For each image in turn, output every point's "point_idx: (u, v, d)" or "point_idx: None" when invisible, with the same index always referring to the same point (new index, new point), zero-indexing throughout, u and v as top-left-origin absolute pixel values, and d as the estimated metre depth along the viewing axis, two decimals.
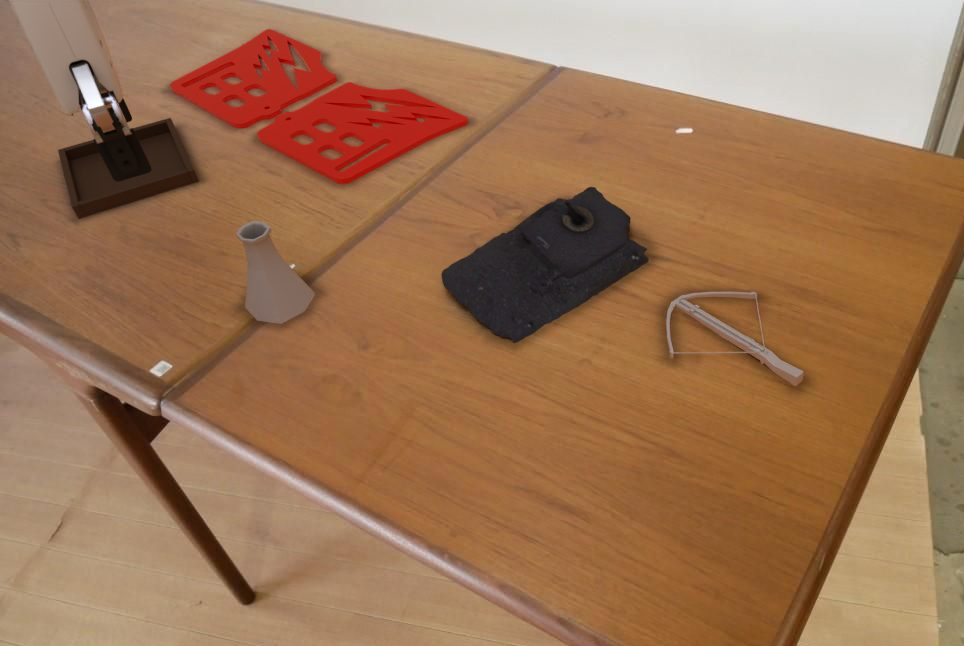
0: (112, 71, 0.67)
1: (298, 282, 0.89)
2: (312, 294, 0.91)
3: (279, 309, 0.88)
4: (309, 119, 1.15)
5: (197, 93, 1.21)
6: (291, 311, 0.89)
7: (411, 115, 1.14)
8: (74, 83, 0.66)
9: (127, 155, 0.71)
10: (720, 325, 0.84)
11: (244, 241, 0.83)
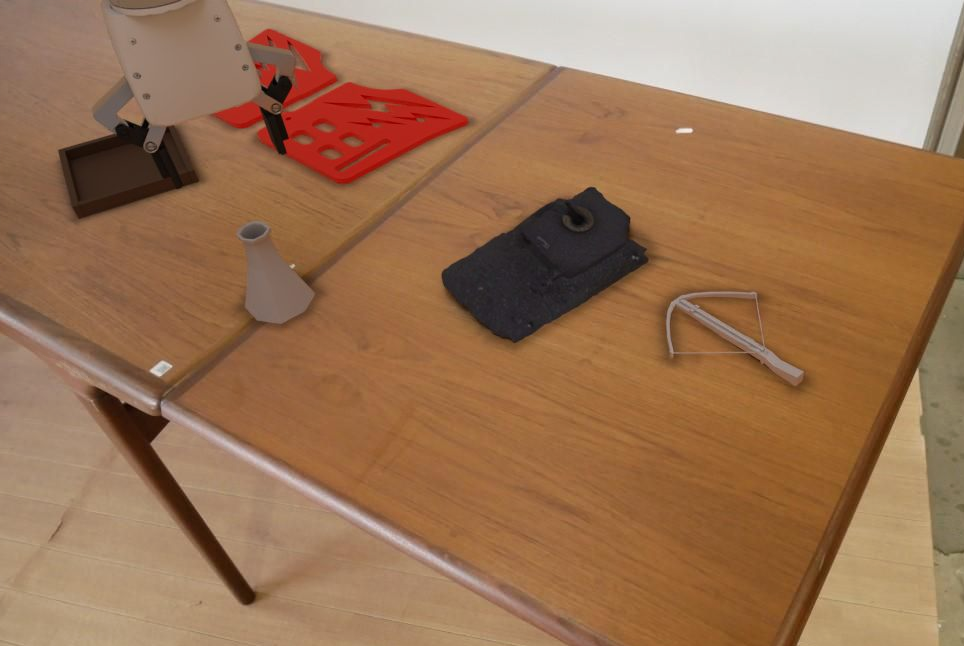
0: (143, 101, 0.69)
1: (298, 282, 0.89)
2: (312, 294, 0.91)
3: (279, 309, 0.88)
4: (309, 119, 1.15)
5: None
6: (291, 311, 0.89)
7: (411, 115, 1.14)
8: None
9: (155, 163, 0.75)
10: (720, 325, 0.84)
11: (244, 241, 0.83)
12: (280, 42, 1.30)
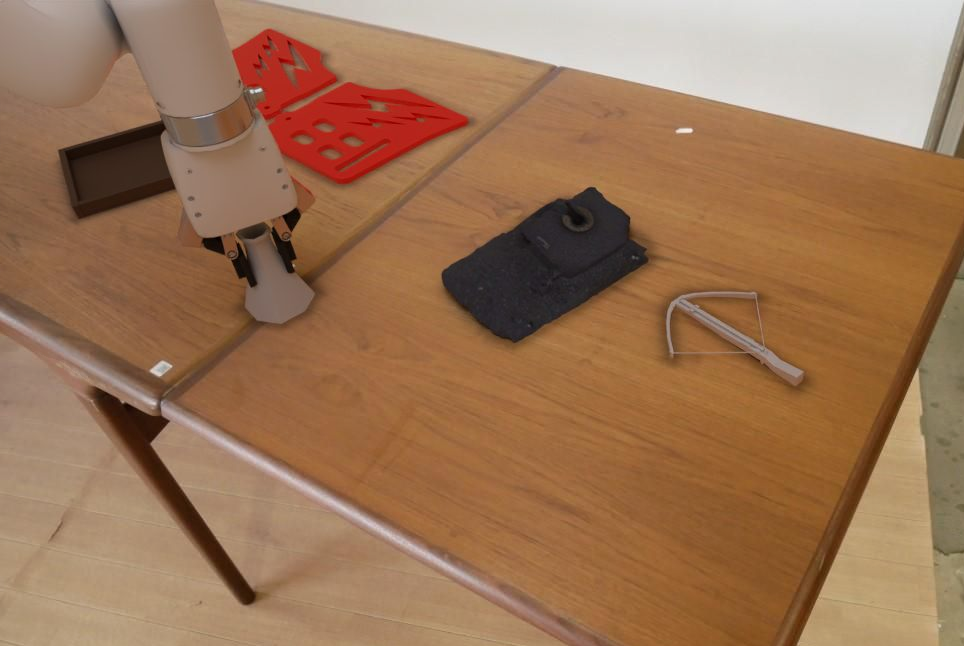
0: (194, 218, 0.78)
1: (298, 282, 0.89)
2: (312, 294, 0.91)
3: (279, 309, 0.88)
4: (309, 119, 1.15)
5: None
6: (291, 311, 0.89)
7: (411, 115, 1.14)
8: None
9: None
10: (720, 325, 0.84)
11: (244, 241, 0.83)
12: (280, 42, 1.30)
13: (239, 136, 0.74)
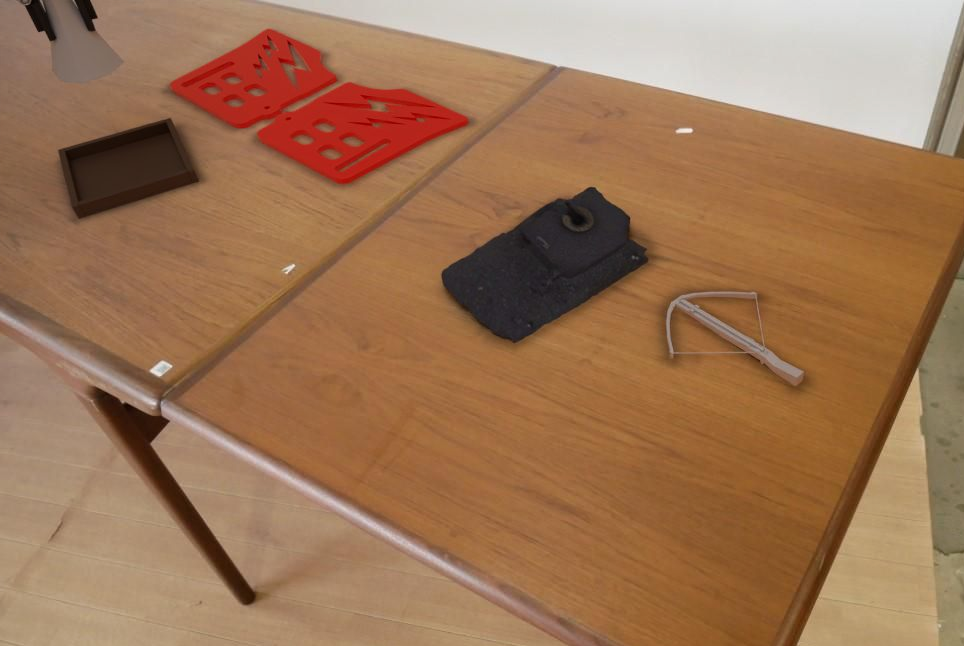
0: None
1: (102, 43, 0.93)
2: (119, 59, 0.94)
3: (80, 66, 0.91)
4: (309, 119, 1.15)
5: (197, 92, 1.21)
6: (93, 70, 0.92)
7: (411, 115, 1.14)
8: None
9: None
10: (720, 325, 0.84)
11: None
12: (280, 42, 1.30)
13: None
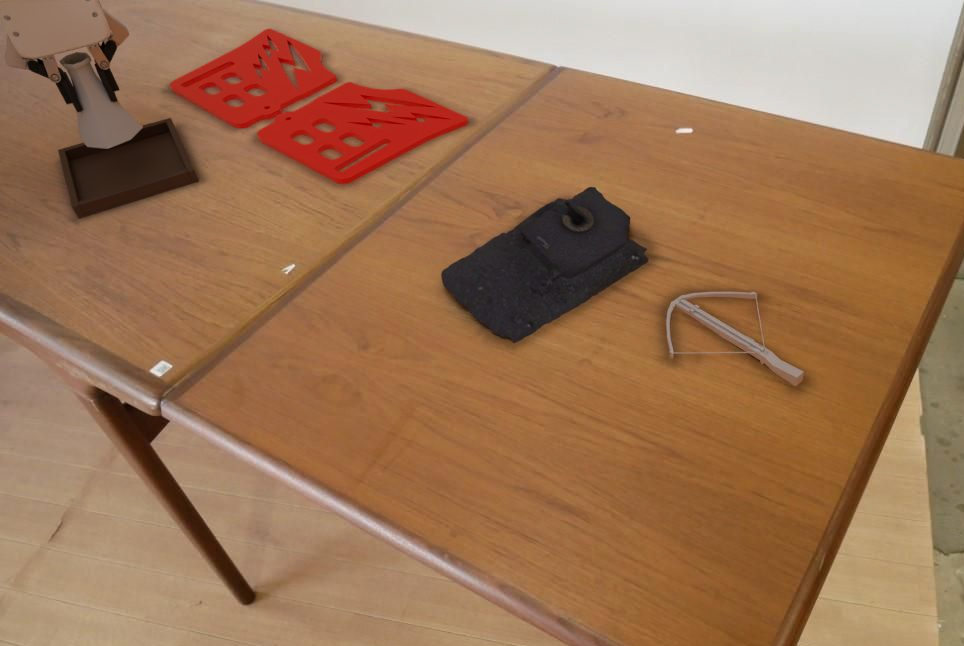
0: (13, 37, 0.92)
1: (123, 112, 1.03)
2: (138, 125, 1.05)
3: (104, 133, 1.02)
4: (309, 119, 1.15)
5: (197, 92, 1.21)
6: (116, 136, 1.03)
7: (411, 115, 1.14)
8: None
9: (60, 91, 0.99)
10: (720, 325, 0.84)
11: (65, 66, 0.97)
12: (280, 42, 1.30)
13: None
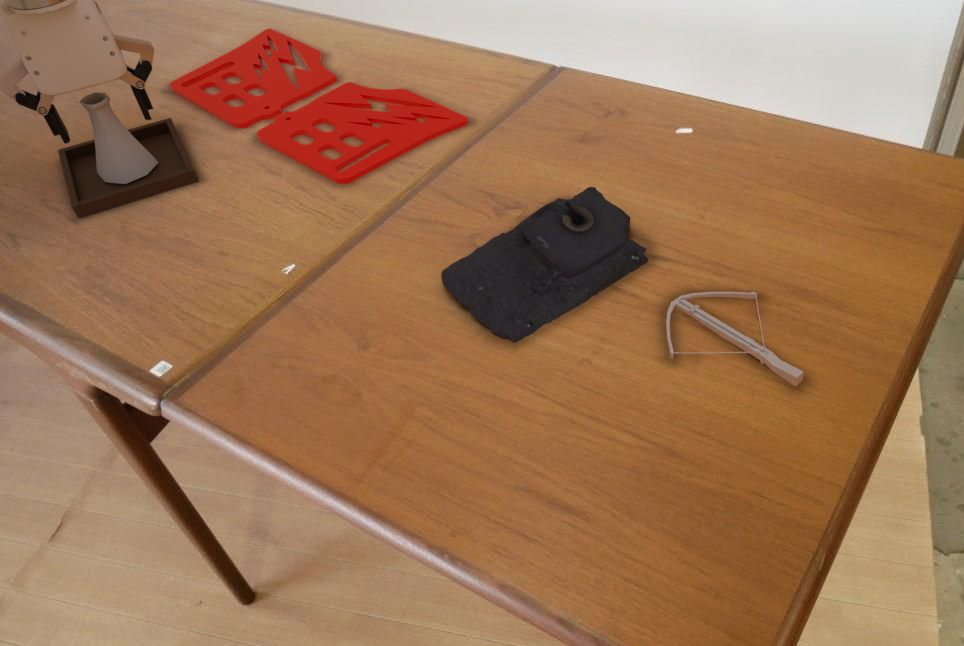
0: (34, 76, 0.95)
1: (139, 148, 1.07)
2: (154, 161, 1.09)
3: (122, 169, 1.05)
4: (309, 119, 1.15)
5: (197, 92, 1.21)
6: (133, 172, 1.06)
7: (411, 115, 1.14)
8: None
9: (48, 123, 1.00)
10: (720, 325, 0.84)
11: (85, 106, 1.01)
12: (280, 42, 1.30)
13: (62, 3, 0.91)
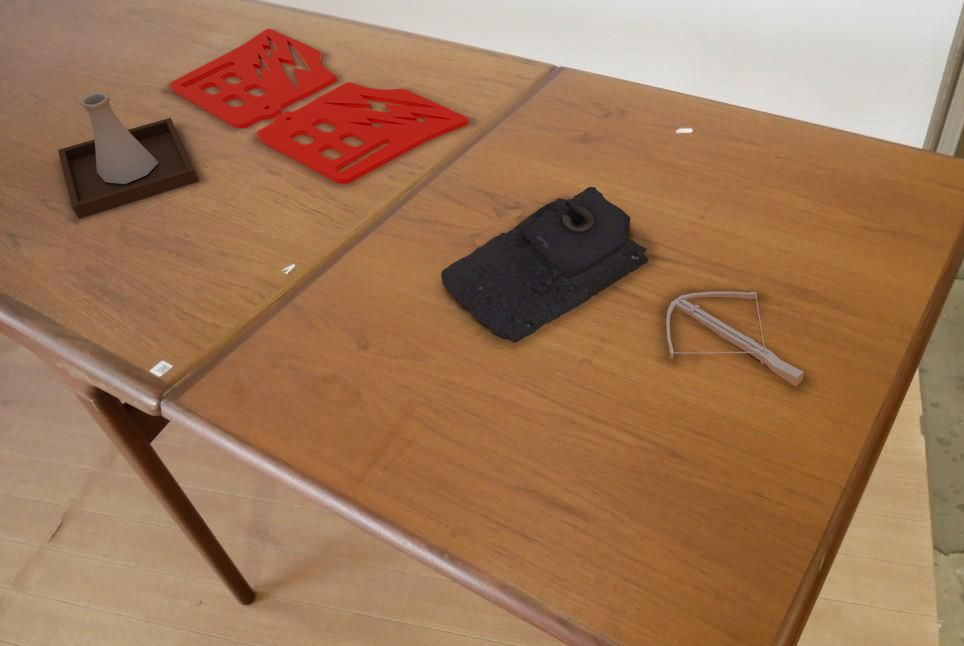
0: None
1: (139, 148, 1.07)
2: (154, 161, 1.09)
3: (122, 169, 1.05)
4: (309, 119, 1.15)
5: (197, 93, 1.21)
6: (133, 172, 1.06)
7: (411, 115, 1.14)
8: None
9: None
10: (720, 325, 0.84)
11: (85, 106, 1.01)
12: (280, 42, 1.30)
13: None
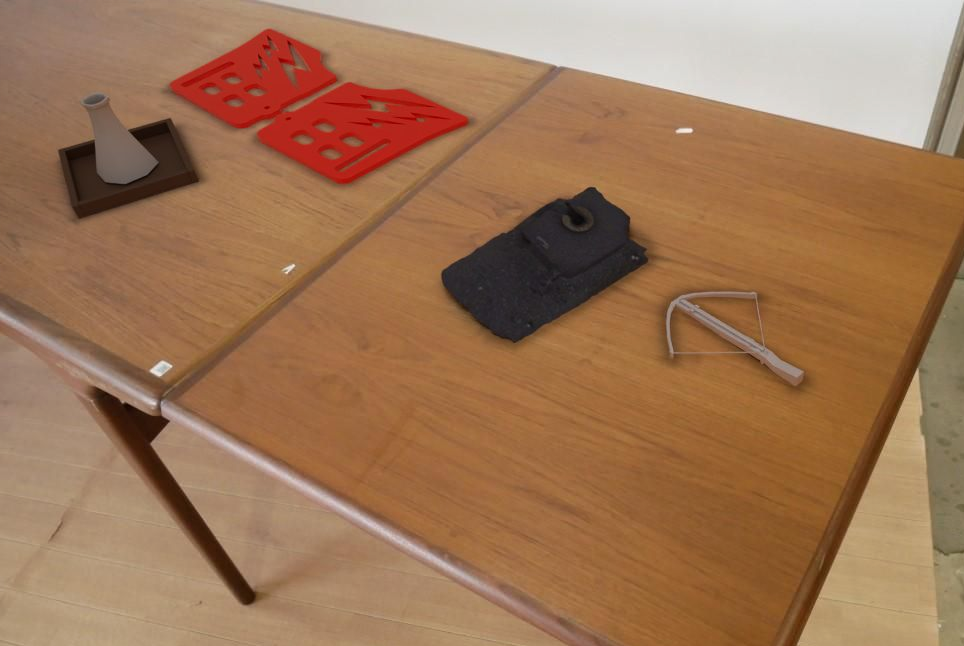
0: None
1: (139, 148, 1.07)
2: (154, 161, 1.09)
3: (122, 169, 1.05)
4: (309, 119, 1.15)
5: (197, 92, 1.21)
6: (133, 172, 1.06)
7: (411, 115, 1.14)
8: None
9: None
10: (720, 325, 0.84)
11: (85, 106, 1.01)
12: (280, 42, 1.30)
13: None
